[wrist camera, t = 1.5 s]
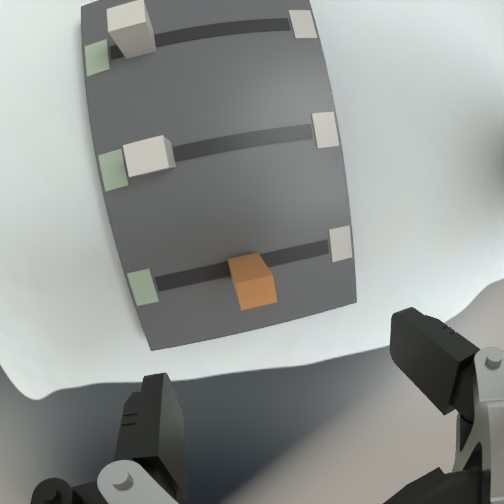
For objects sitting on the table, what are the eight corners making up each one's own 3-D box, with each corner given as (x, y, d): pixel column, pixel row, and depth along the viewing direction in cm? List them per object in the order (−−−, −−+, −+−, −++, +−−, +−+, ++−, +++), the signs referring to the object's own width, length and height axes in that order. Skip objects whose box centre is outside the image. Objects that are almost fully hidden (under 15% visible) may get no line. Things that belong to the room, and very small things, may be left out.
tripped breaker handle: (257, 252, 21) (272, 274, 17) (261, 275, 21) (277, 301, 17) (227, 259, 21) (235, 283, 16) (232, 281, 21) (241, 310, 17)
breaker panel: (291, -13, 18) (322, -61, 12) (343, 290, 26) (388, 330, 19) (90, 19, 17) (58, -24, 10) (154, 334, 24) (143, 391, 17)
